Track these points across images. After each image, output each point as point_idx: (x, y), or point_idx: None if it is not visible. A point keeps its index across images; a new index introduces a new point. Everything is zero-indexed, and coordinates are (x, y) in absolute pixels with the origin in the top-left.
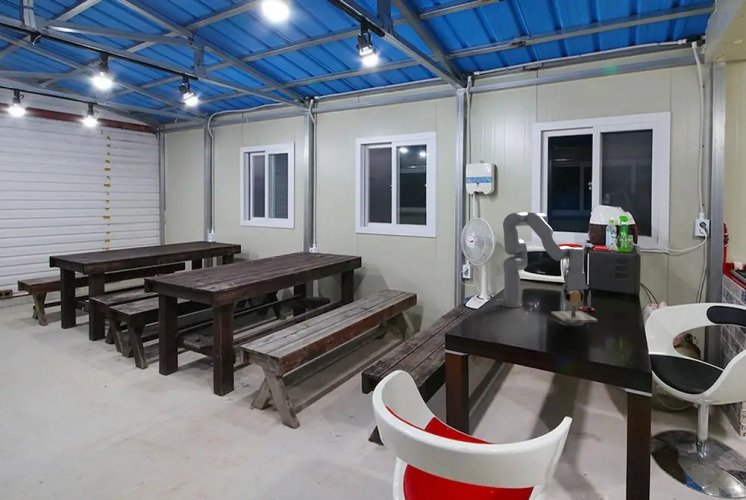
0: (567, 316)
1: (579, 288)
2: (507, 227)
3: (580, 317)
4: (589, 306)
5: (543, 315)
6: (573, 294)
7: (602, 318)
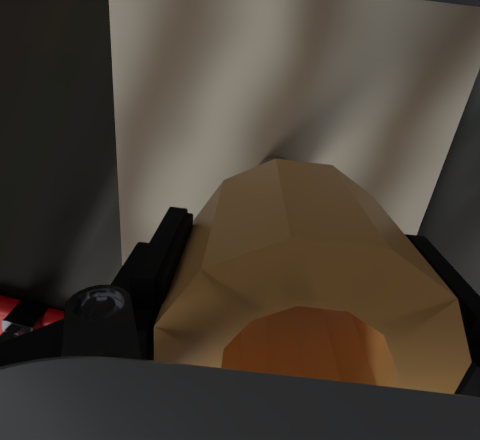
0: (358, 153)
1: (264, 414)
2: None
3: (248, 93)
4: (12, 332)
5: (469, 281)
6: (424, 269)
7: (4, 105)
